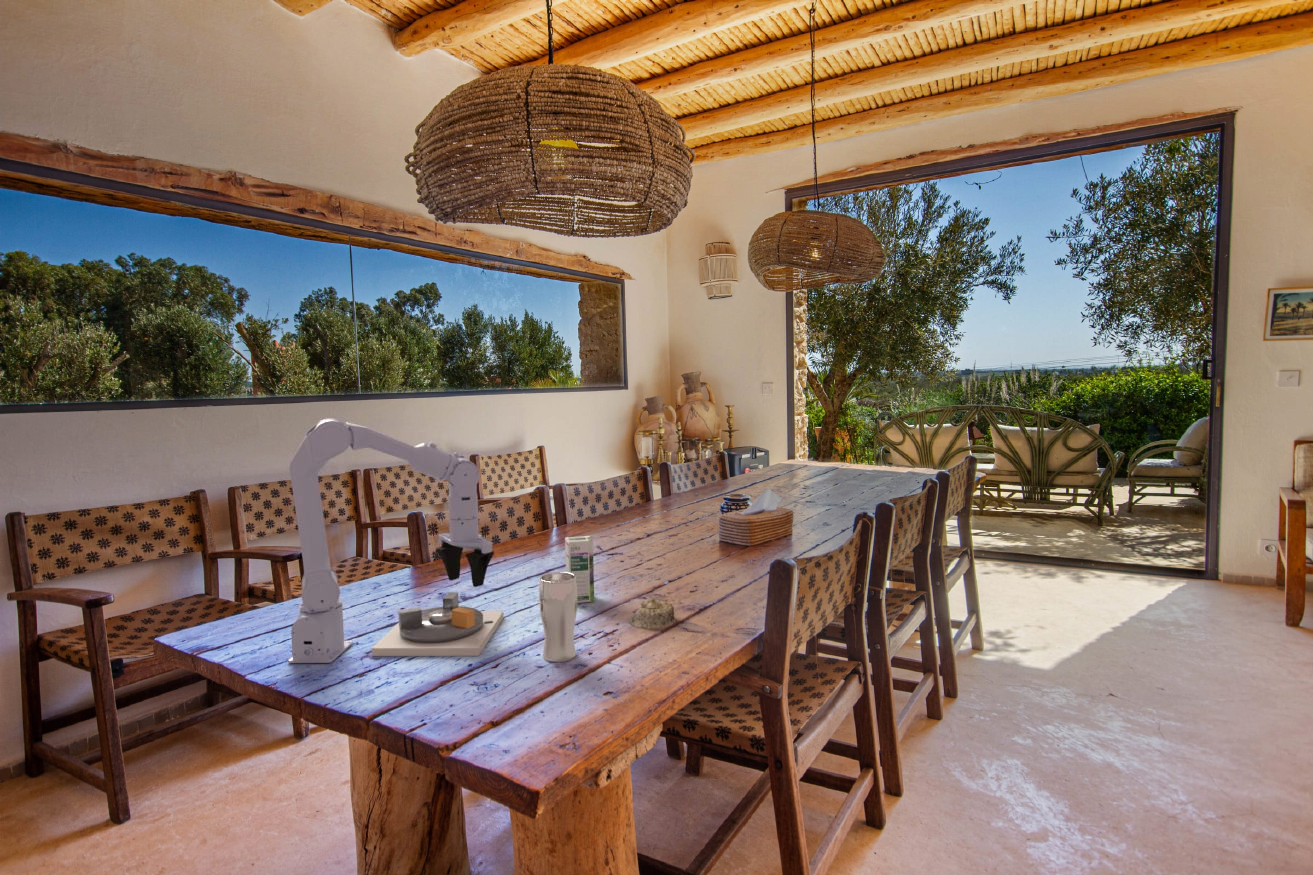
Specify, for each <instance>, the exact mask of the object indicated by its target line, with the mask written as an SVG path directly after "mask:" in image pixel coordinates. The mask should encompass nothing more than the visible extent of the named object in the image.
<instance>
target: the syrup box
mask: <svg viewBox="0 0 1313 875" xmlns="http://www.w3.org/2000/svg"><path fill="white" fill-rule="evenodd" d="M564 550H565V572H569V573H573V574H575V575H576V585H577V604H583V603H584V604H585V603H594V602H595V582H594V581H595V574H594V572H595V571H594V568H595V567H594V540H593V538H592V537H591V536H590V535H584V536H570V537H569V536H566V537H564Z"/></svg>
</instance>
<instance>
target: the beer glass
mask: <svg viewBox="0 0 1313 875" xmlns="http://www.w3.org/2000/svg"><path fill="white" fill-rule="evenodd" d="M538 590H539V594H538V595H539V596H538V598H539V599H538V601H539V612H540V617H541V622H542V627H543V632H544V634H543V635H544V646H543V651H542V652H543V653H542V658H543V659H544V661H547V662H551V663H563V662H568V661H571V660H573V659H574V658H575V657H576V656H577V652H576V651H577V650H576V646H575V645H576V644H575V641H574V634H575V633H574V632H575V624H576V618H577V613H578V612H577V611H578V603H577V585H576V575H575V574H573V573H569V572H566V571H552V572H548V573H544V574H542V575H541V576H540V577H539V589H538Z"/></svg>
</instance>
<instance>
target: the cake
mask: <svg viewBox="0 0 1313 875" xmlns="http://www.w3.org/2000/svg"><path fill="white" fill-rule="evenodd" d="M628 621H629V624H630V625H632V626H634V627H635V628H638V629H644V630H645V629H647V630H651V629H653V630H654V629H655V630H658V629H664V628H663V627H665V628H669V627H670V626H673V625H674V624H676V622H675V621H676V618H675V607H674V606H673V604H672V603H668V602H667V601H664V600H659V599H655V598H652V597H651V599H644V600H642V601H641V602H640V608H638V609H637V610H636V611H635V613H634V614H632V615H631V616H630V618H629V619H628ZM673 623H674V624H673ZM672 624H673V625H672ZM668 626H669V627H668Z"/></svg>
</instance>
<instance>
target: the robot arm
mask: <svg viewBox="0 0 1313 875" xmlns="http://www.w3.org/2000/svg"><path fill="white" fill-rule="evenodd" d="M346 425H347V426H346ZM437 446H438V445H437V444H436V443H433V442H431V441H430V442H429V443H428V444H427V443H425V442H422V443H419V444H417V445H412V444H409V443H407V442H404V441H401V440H399V439H397V438H394V437H392V436H389V435H387V434H385V433H383V432H379V431H378V430H376V429H373V428H370V427H368V426H364V425H360V424H356V423H352V422H349V421H348V422H347V421H346V422H345V423H344V422H343V421H342V420H340V419H337V418H332V417H326V418H324V419H323V418H322V419H321V420H319V421H318V422H317V423H315V425H313V426H312V427H310V429H309V430H307V431H306V433H305V435H304V437H303V439H302V441H301V442H300V444H299V446H298V447H297V450H296V451H295V452H294V454H293V456H292V458H291V460H290V462H289V473H290V481H291V488H292V493H293V500H294V501H293V502H294V509H295V515H296V521H297V523H296V524H297V528H298V529H297V530H298V536H299V541H300V542H299V543H300V549H301V556H302V562H303V564H302V565H303V576H302V579H301V588H302V591H301V600H302V602H301V603H300V604H299V615H298V617H297V619H296V620H295V622H294V623H293V624H292V626H291V631H290V632H291V633H290V634H291V651H292V652H291V654H292V657H290V658H289V659H287V663H289V664H330V663H333V661H334V660H336V659H337V658H338V657H339V656H340V655H341V654H342V653H344V652H346V651H347V649H349V647H351V646H352V645H353V644H354V641H353V640H345V633H344V632H345V631H344V630H345V629H344V611H343V608H344V607H343V600H342V598H340V595H341V590H340V587H339V583H338V582H339V579H338V578H339V577H338V574H337V573H336V571H335V569H333V567H332V565H331V561H330V553H329V545H328V538H327V531H326V526H325V524H326V523H325V517H324V510H323V502H322V496H321V488H320V483H319V472H320V471H321V470H322V469H323V468H324V467H325V466H326V465H327V464H328V462H329V461H330V460H332V459H334V458H336V457H337V456H339V455H341V454H342V453H344V452H346V451H347V450H348V448H349V447H350V448H351V449H352V451H356V450H361V449H372V450H375V451H378V452H381V453H382V454H387V455H389V456H391V457H392V456H393V457H396V458H398V459H401V460H404V461H407V462H408V465H409V466H410V468H411V470H412V471H414V472H417V473H419V474H422V475H425V476H428V477H431V478H433V479H436V480H439V481H442V482H444V481H447V482H448V516H449V517H448V520H449V522H448V523H449V524H448V526H449V533H448V532H447V533H446V532H445V533H439V534H438V536H437V537H438V545H441V546H439V547H436V553H438V555H439V557H440V558H441V561H442V563H443V565H444V567H445V571H446V574H447V577H448V580H449V581H451V582H452V581H455V580H458V579H460V575H461V558H462V554H463V553H462V552H463V551H464V550H463V549H467V550H470V551H471V550H472V551H471V552H468V553H465V558H466V559H467V562H468V565H469V567H470V574H471V583H472V586H473V587H475V588H477V587H481V586H483V585H484V582H485V578H486V574H487V573H486V572H487V569H488V566H489V563H490V562H491V560H492V558H493V556H494V554H495V551H494V550H493V542H492V541H488V540H487V539H484V538H483V534H479V532H480V531H479V527H480V526H479V500H478V498H479V497H478V493H477V492H478V490H477V489H478V486H477V484H478V483H479V481H480V478H481V473H480V470H479V469H478V466H477V465H476V463H474V462H472V461H471V460H469V459H467V458H465V457H464V456H460V454H459V453H457V452H453V453H452V452H451V453H450V452H448V451H446V450H443V449H441V448H438V447H437Z"/></svg>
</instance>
